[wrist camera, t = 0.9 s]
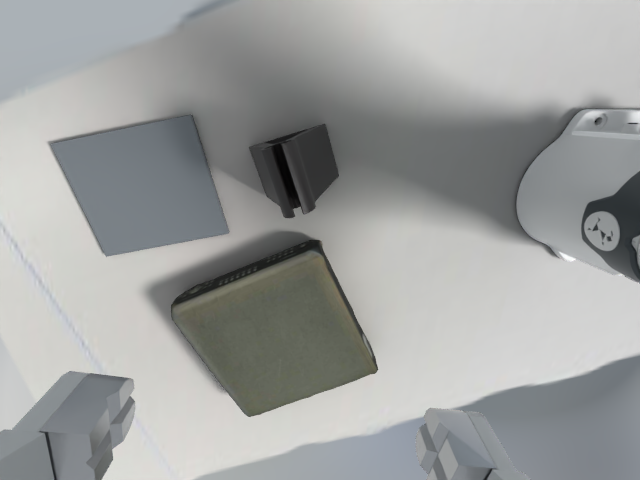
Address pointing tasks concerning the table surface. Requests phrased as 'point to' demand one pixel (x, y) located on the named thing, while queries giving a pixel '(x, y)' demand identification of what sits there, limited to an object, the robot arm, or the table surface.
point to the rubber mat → (144, 185)
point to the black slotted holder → (296, 168)
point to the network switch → (276, 330)
